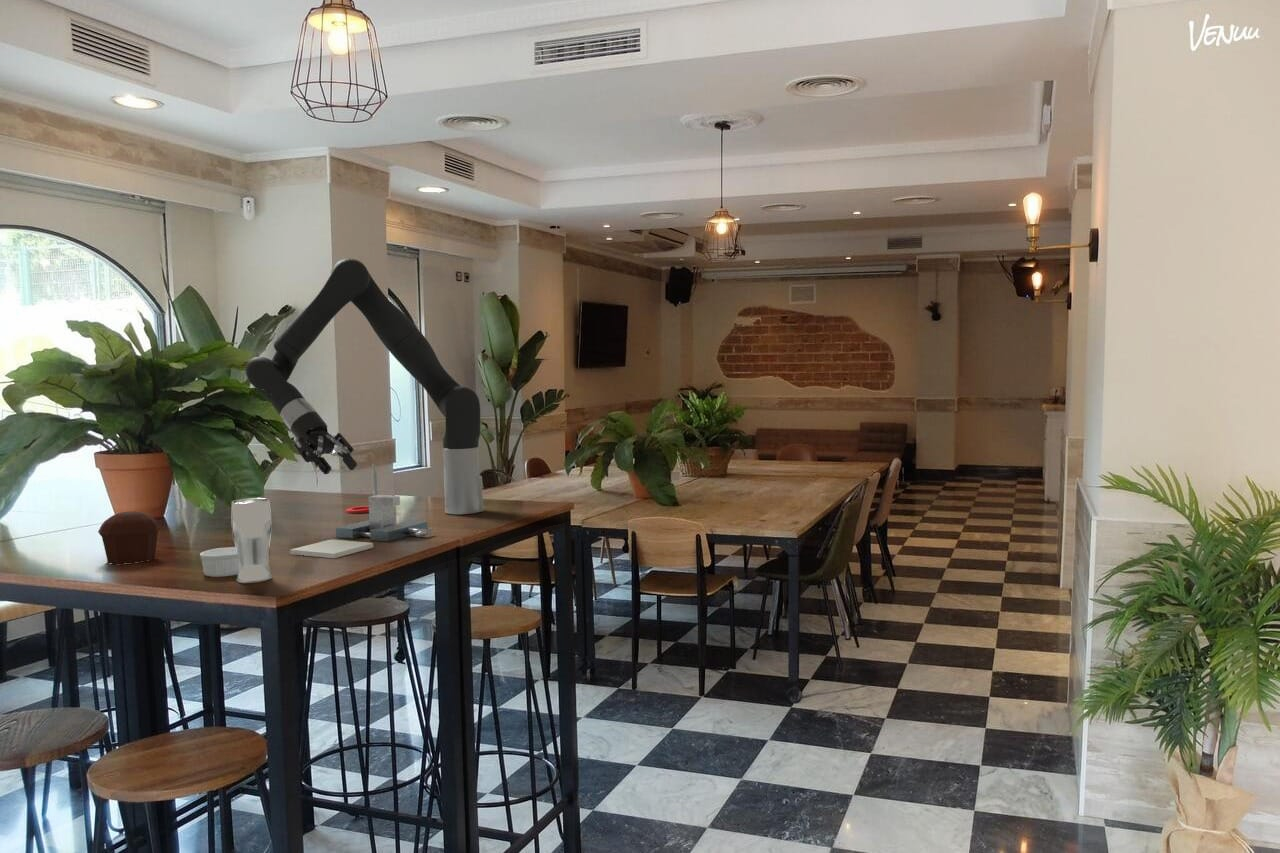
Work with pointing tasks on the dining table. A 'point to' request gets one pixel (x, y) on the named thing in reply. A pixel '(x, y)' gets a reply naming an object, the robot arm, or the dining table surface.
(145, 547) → the muffin
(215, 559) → the ramekin
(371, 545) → the pad
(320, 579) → the dining table surface
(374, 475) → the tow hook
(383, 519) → the glass mug
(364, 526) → the vise
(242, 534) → the beer glass
